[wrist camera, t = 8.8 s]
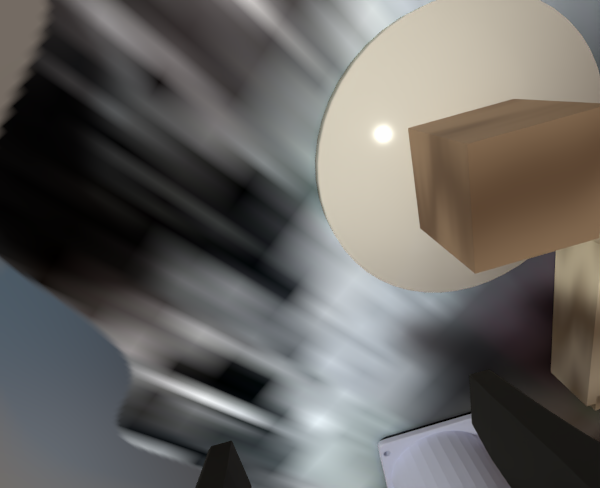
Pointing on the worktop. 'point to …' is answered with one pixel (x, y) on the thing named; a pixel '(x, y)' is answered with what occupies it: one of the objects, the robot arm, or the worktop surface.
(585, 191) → the walnut block
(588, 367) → the wooden u-shaped frame
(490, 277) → the ceramic plate
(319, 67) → the worktop surface
